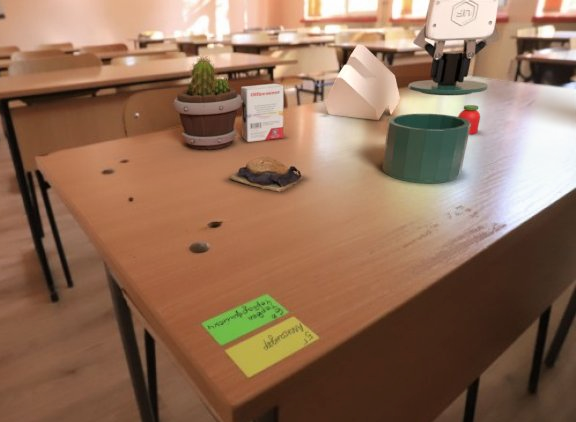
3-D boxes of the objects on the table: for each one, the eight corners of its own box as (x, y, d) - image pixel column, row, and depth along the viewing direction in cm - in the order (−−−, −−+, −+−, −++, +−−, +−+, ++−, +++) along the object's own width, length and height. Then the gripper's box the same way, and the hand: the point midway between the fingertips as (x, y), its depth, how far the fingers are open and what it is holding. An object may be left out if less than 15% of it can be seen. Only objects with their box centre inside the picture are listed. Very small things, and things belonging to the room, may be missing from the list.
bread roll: (226, 181, 73) (225, 161, 71) (255, 167, 78) (255, 148, 76) (279, 194, 66) (279, 172, 64) (306, 178, 71) (307, 157, 70)
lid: (475, 85, 80) (482, 48, 78) (496, 97, 70) (506, 54, 67) (403, 86, 84) (408, 51, 81) (412, 97, 73) (419, 57, 70)
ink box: (276, 133, 99) (277, 82, 94) (283, 138, 95) (284, 85, 90) (241, 137, 98) (240, 85, 93) (247, 142, 94) (246, 88, 89)
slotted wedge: (333, 124, 117) (314, 76, 105) (351, 95, 120) (334, 44, 107) (381, 131, 108) (366, 78, 95) (400, 99, 110) (388, 44, 98)
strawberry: (474, 129, 91) (479, 104, 89) (479, 134, 88) (485, 108, 86) (453, 129, 92) (458, 104, 90) (457, 134, 89) (462, 108, 87)
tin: (450, 161, 74) (459, 113, 70) (467, 185, 64) (479, 130, 60) (380, 159, 77) (385, 113, 74) (385, 181, 67) (392, 129, 64)
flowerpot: (187, 135, 103) (180, 49, 95) (248, 136, 99) (247, 45, 91) (167, 153, 90) (157, 55, 82) (236, 154, 86) (233, 51, 78)
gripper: (416, -32, 68) (400, 85, 75) (536, -43, 63) (506, 83, 70) (410, -28, 74) (396, 79, 82) (518, -38, 69) (492, 77, 77)
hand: (447, 80), depth 76 cm, fingers closed on lid, 3 cm apart
